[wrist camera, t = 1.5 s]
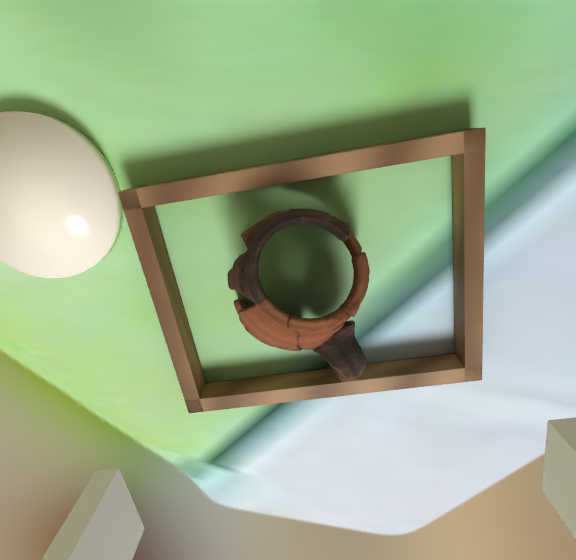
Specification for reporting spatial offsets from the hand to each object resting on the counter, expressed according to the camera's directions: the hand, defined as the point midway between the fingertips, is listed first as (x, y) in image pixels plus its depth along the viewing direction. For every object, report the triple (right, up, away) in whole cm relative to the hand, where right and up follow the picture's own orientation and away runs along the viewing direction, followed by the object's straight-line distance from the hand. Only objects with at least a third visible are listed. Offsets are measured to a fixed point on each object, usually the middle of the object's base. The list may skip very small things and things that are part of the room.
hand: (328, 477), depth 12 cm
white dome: (-18, +12, +14) cm, 26 cm away
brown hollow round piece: (0, +6, +16) cm, 17 cm away
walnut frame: (+1, +6, +16) cm, 17 cm away
